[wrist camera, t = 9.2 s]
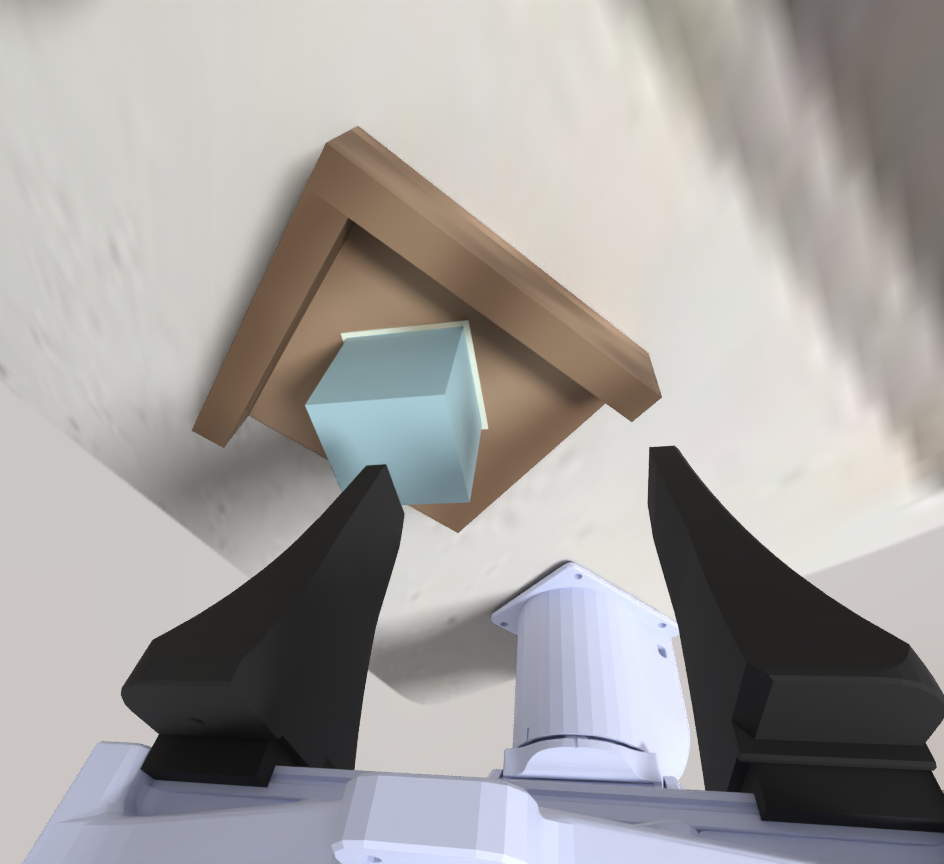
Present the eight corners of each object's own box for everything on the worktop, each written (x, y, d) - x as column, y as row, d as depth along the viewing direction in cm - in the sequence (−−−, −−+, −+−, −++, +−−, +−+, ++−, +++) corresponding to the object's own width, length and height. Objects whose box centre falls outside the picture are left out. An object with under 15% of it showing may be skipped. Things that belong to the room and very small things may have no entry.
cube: (463, 326, 21) (444, 394, 17) (482, 424, 24) (469, 502, 20) (347, 337, 22) (304, 405, 18) (379, 431, 25) (348, 506, 21)
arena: (648, 353, 22) (662, 397, 19) (459, 522, 30) (451, 569, 27) (358, 125, 18) (326, 142, 15) (227, 389, 26) (191, 430, 23)
